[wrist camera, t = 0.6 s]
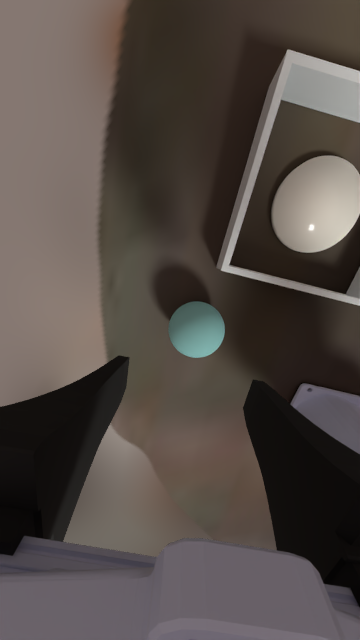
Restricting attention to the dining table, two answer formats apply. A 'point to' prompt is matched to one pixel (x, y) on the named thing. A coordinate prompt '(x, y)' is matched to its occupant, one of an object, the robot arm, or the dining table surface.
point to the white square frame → (289, 85)
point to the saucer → (316, 204)
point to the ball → (196, 329)
